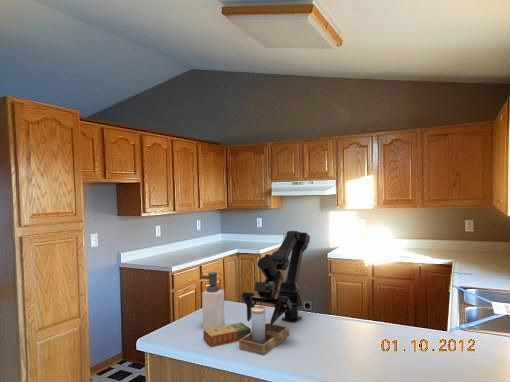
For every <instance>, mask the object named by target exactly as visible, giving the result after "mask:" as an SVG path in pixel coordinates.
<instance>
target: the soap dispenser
mask: <svg viewBox="0 0 510 382" xmlns="http://www.w3.org/2000/svg"><path fill="white" fill-rule="evenodd" d="M217 274H218V272H216V271H210V272H208V274H207V275H205V274H201V275H199V279H200V280H208V286H207V287H206V290H205V291H203V292H202V293H201V301H202V330H205V329H210V328H215V327H221V326H226V322H225V320H226V319H225V315H226V314H225V290H224V289H220V286H219V285H218V284H217V283H218V282H217V281H218V278H217V277H218V275H217Z"/></svg>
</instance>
